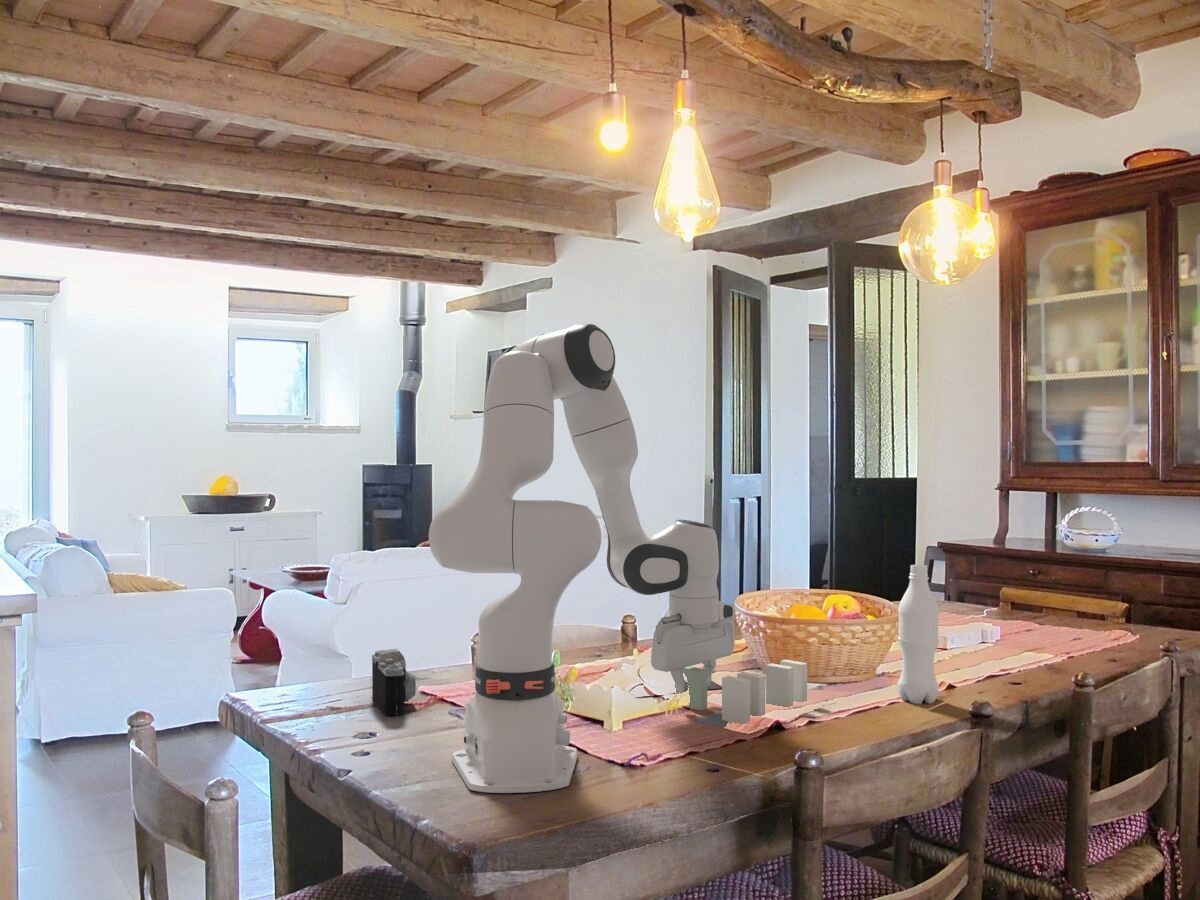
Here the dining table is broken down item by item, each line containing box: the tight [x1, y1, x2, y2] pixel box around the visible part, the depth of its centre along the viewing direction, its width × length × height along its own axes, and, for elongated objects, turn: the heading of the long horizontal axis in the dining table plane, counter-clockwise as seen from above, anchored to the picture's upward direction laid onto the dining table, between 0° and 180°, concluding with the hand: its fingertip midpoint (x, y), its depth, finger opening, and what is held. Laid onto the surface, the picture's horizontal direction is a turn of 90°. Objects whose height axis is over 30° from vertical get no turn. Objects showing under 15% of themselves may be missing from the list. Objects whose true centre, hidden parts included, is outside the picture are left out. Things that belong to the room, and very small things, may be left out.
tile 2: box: [736, 671, 766, 716], centre depth 180 cm, size 2×5×7 cm, turn 47°
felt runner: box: [689, 709, 777, 729], centre depth 183 cm, size 28×12×1 cm, turn 137°
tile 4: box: [765, 663, 794, 707], centre depth 186 cm, size 2×5×7 cm, turn 47°
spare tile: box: [684, 666, 708, 711], centre depth 186 cm, size 2×5×7 cm, turn 47°
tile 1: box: [721, 675, 751, 724], centre depth 176 cm, size 2×5×7 cm, turn 47°
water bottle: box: [897, 564, 940, 705], centre depth 191 cm, size 7×7×25 cm
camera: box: [371, 648, 417, 719], centre depth 187 cm, size 15×7×10 cm, turn 22°
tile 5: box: [779, 658, 808, 702], centre depth 190 cm, size 2×5×7 cm, turn 47°
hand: (693, 688), depth 186 cm, fingers open, 5 cm apart
